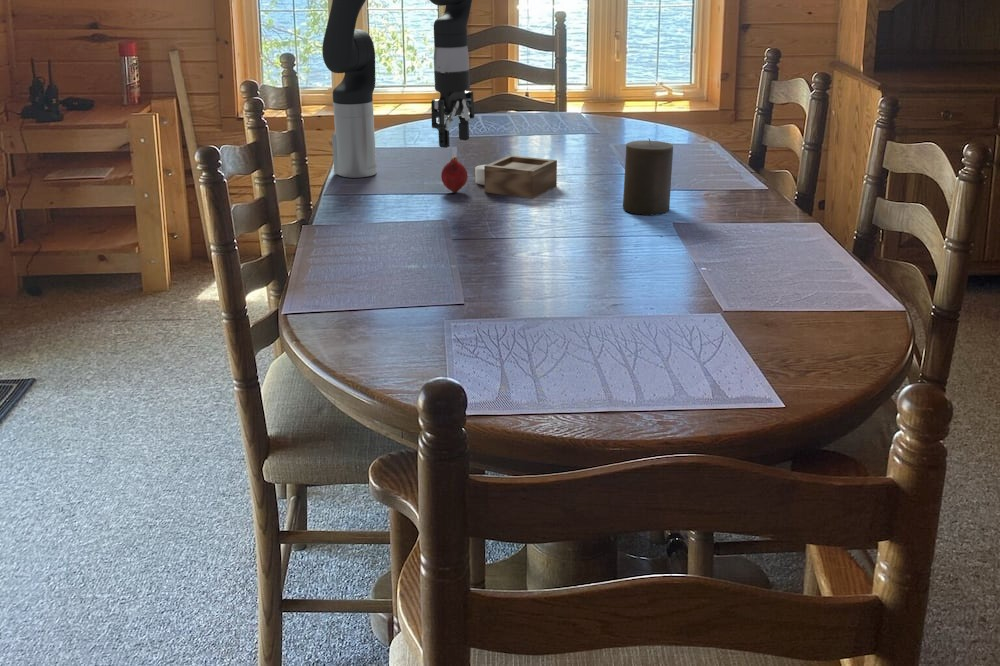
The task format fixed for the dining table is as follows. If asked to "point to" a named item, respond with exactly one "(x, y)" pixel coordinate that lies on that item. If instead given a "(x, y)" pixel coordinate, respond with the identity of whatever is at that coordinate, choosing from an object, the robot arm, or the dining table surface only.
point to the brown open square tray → (520, 176)
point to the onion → (454, 175)
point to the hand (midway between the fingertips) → (454, 143)
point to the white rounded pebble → (480, 174)
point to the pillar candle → (647, 177)
